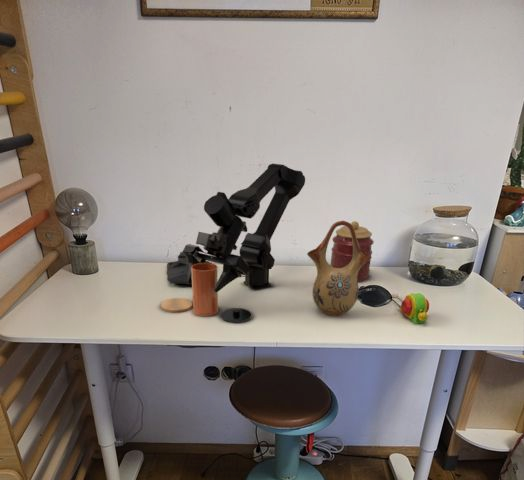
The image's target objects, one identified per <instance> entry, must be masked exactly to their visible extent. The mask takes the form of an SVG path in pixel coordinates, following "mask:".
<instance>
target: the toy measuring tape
mask: <svg viewBox="0 0 524 480" xmlns="http://www.w3.org/2000/svg"><path fill="white" fill-rule="evenodd" d="M390 294H391V295H392V299H391V300H393V301H394V302H395V303H396V304H397V306H400V307H399V311H400V312H401V313H402V314H403V315H404V316H405V317H406V318H408V319H410V320H411V321H412V322H413V323H414V324H424V323H425V322H426V320H428V317H429V315H428V312H429V310H430V302H429V300H428V299H427V297H425V295H424V294H422V293H420V292H415V293H410V294H406V295H405V297H404V299H403V300H401V299H399V294H398V293H390Z"/></svg>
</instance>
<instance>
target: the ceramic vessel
mask: <svg viewBox="0 0 524 480" xmlns="http://www.w3.org/2000/svg"><path fill="white" fill-rule="evenodd" d="M342 226H347V227H348V228H349V230H350V233H351V237H352V242H353V257H352V260H351V262H350V263H349V264H348V265H347V266H345V267H343V268H334V267H332V266H330V263H329V262H328V261H327V250H328V245H329V242H330V240H331V239H332V235H333V234H334V231H335V230H336V228H337V227H342ZM306 255H307V256H308V257H309V258H310V260H312V262H313V263H314V265H315V267H316V272H317V273H316V277H315V279H314V281H313V285H312V300H313V302H314V304H315V306H316V307H317V309H318V310H319V311H320V312H321V313H323V314H324V315H326V316H333V317H339V316H340V317H341V316H342V315H343V316H344V315H345V314H346V313H348V312H349V311H351V309H352V308H353V307H354V306H355V305H356V303H357V300H358V298H359V293H360V286H359V281H357V275H358V272H359V270H360V268H361V267H362V266H363V265H364V264H365V263H366V262H367V261H368V260H370V259H372V255H371V256H370V255H369V254H368V253H366V252H364V251H363V250H362V249H361V247H360V245H359V243H358V241H357V238H356V234H355V231H354V228H353V226H352V225H351V223H350V222H349V221H345V220H339V221H335V222H334V223H333V224H332V225H331V226H330V228H329V230H328V231H327V233H326V235H325V236H324V238H323V240H322V241H321V243H320V244H319V245H318V246H316V247H315V248H314V249H311V250H309V251H308V252H307V253H306Z"/></svg>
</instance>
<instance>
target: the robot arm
mask: <svg viewBox="0 0 524 480" xmlns="http://www.w3.org/2000/svg"><path fill="white" fill-rule="evenodd" d="M305 185H306V176H305V175H304V173H303V171H302V170H297V169H292V168H290V167H288V166H287V165H286V164H279V163H270V164H269V165H267V169H265V170H264V171H263V173H261V174H260V175H259V176H258V177H257V178H256V179H255V180H254V181H253V182H252V183H251V184H250V185H249V186H248V187H246V188H243V189H240V190H237V191H236V192H234V193H232V194H231V195H230V196H229V198H228V196H227V195H226V193H225V192H224V191H223V192H222V191H217V192H216V194H215V195H212V196H211V197H208V199H207V200H206V201H205V202H204V205H203V211H204V213H206V215H207V216H208V217H209V218H210V219H211V220H212V222H213V223H214V224H215V225H216V226H217V227H219V228H218V230H217V231H216V232H214V231H213V232H212V233H207V232H202V231H198V233H197V237H196V241H195V244H196V245H195V244H191V243H188V244H185V246H184V248H183V250H182V252H183V253H184V254H185V256H186V257H187V258H188V261H189V271H188V279H187V283H188V284H187V285H189V284H191V283H192V275H191V267H192V265H194V264H197V263H205V261H208V262H210V263H214V264H215V263H216V264H219V265H222V272H221V274H220V275H219V278H218V282H217V284H216V286H215V289H214V291H215V292H218V293H219V292H220V291H222V290H223V289H224V288H225V287H226V286H227V285H229V284H230V283H232V282H234V281H235V280H236V279H238V278H242V276H244V281H243V284H244V285H246V286H247V287H249V288H251V289H252V290H259V289H263V288H270V287H272V284H271V283H270V270H272V269H273V267H274V265H275V261H276V260H275V259H276V258H274V256H273V255H272V253H271V251H272V243H271V240H272V238H273V235H274V234H275V232H276V229H277V227H278V225H279V223H280V221H281V219H282V216H283V215H284V213H285V211H286V209H287V207H288V205H289V203H290V201H291V200H292V199H294V198H295V197H297V196H298V195H300V192H301V191H302V189H304V186H305ZM273 189H274V190H275V192H274V194H273V196H272V198H271V200H270V202H269V204H268V206H267V208H266V210H265V212H264V214H263V215H262V218H261V220H260V222H259V224H258V226H257V228H256V230H255V231H254V232H253V233H250V232H248V227H247V222H246V221H245V220H242V218H244V219H252V218H255V216H256V214H257V213H258V211H259V210H260V208H261V202H262V200H263V199H264V198H265V197H266V196H267V195H268V194H269V193H270V192H271V191H272V190H273ZM242 232H243V233H246V234H245V237H244V239H243V241H242V242H241V243H240V244H241V246H240V248H239V255H237V254H233V253H232V252H233V251H237V249H238V246H237V245H236V244H237V242H238V240H239V237H240V236H241V234H242ZM199 245H201V246H203V247H202V248H203V249H204V250H205V251H203V249H202V248H201V247H200V246H199ZM206 251H207V252H206Z"/></svg>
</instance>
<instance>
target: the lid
mask: <svg viewBox="0 0 524 480" xmlns="http://www.w3.org/2000/svg"><path fill="white" fill-rule="evenodd" d="M220 318H221V319H222V320H223V321H224V322H227V323H230V324H231V323H232V324H241V323H246V322H248V321H250V320H251V319H252V313H251V311H250V310H248V309H246V308H242V307H241V308H240V307H231V308H228V309H227V308H226V309H225V310H223V311H222V312H221V314H220Z"/></svg>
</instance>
